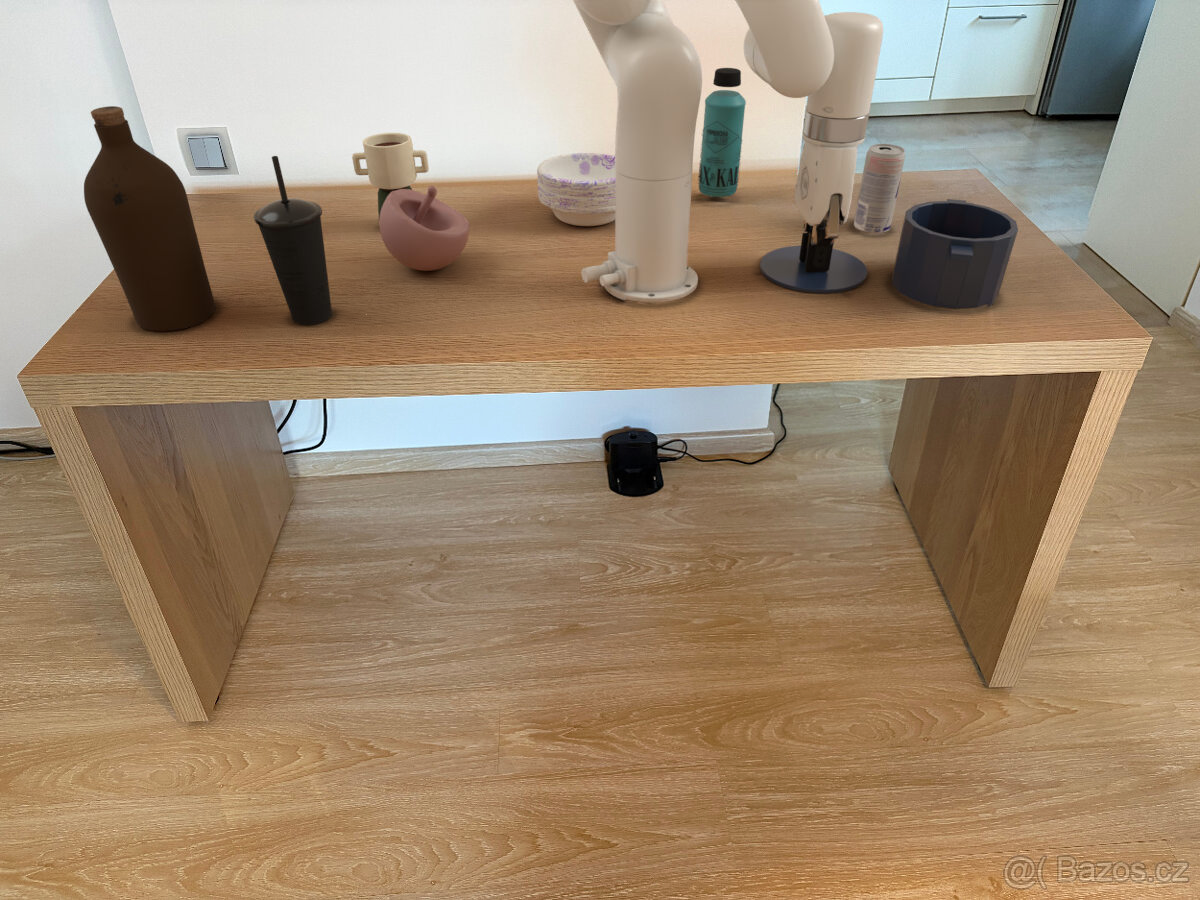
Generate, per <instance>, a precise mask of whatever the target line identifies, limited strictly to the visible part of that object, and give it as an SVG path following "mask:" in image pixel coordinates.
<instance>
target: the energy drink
mask: <svg viewBox="0 0 1200 900" xmlns="http://www.w3.org/2000/svg"><path fill="white" fill-rule="evenodd" d="M905 151H906V150H905V148H903V147H902V146H900V145H896V144H890V143H876V144H872V145H870V146H869V147H868V150H867V151H866V154H865V159H864V165H863V170H862V177H861V182H860V186H859V187H860V188H859V191H858V192H859V193H858V197H857V204H856V210H855V216H854V220H853V227H854V228H855V229H856V230H858V231H861V232H864V233H871V234H882V233H886V232H889V231H890V230H891V226H892V223H893V217H894V212H895V207H896V203H897V198H898V193H899V189H900V183H901V178H902V174H903V170H904V164H905V161H906V152H905Z"/></svg>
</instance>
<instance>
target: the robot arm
mask: <svg viewBox="0 0 1200 900" xmlns="http://www.w3.org/2000/svg"><path fill="white" fill-rule="evenodd" d="M572 1H573V3H574V5H575V7H576V9H577V11H578V13H579V15H580V17H581V19H582V22H583V23H584V24H585V27H586V29H587V31H588V33H589V35H590V37H591V39H592V41H593V43H594V45H595V47H596V48H597V51H598V52H599V56H600V57H601V58H602V60H603V63H604V64H605V67H606V69H607V71H608V73H609V74H610V76H611V78H612V80H613V82H614V84H615V86H616V93H617V94H616V95H617V103H616V104H617V105H616V106H617V107H616V108H617V109H616V120H615V123H616V124H615V141H614V143H615V146H614V148H615V149H614V156H615V220H614V229H615V231H614V251H609V252H607V260H604V261H602V263H601V264H599V265H591V266H587V267H583V268H581V270H580V271H581V272H580V273H581V279H582V281H583V283H585V284H588V283H592V282H597V281H599V284H600V285H601V287H604V289H605V290H606V291H607V292H608V293H609V294H610V295H612V296H613V297H614V298H616V299H618V300H621V301H624V302H626V301H627V300H628V301H632V302H639V303H664V302H665V303H666V302H671V301H677V300H679V299H682V298H684V297H687V296H689V295H691V294H692V293H693V292H694V291H696V289H697V287H698V284H699V276H698V274H697V272H696V270H694V269H693V268H692V267H691V266H689V265H688V255H689V241H690V240H689V238H690V236H689V235H690V222H691V206H692V205H691V203H692V188H693V187H692V185H693V164H694V149H695V148H694V147H695V137H696V128H697V120H698V115H699V109H700V103H701V98H702V88H703V69H702V64H701V58H700V56H699V53H698V51H697V48H696V47H695V45H694V43H693V42H692V41H691V39H690V38H689V37H688V36H687V34H686V33H684V31H683V30H682V29H680V27H678V26H677V25H675V24H674V22H673V20H672V18H671V15H670V13H669V11H668V9H667V6H666V4H665V2H664V0H572ZM735 2H736V4H737V6H738V8H739V10H740V11H741V13H742V15H743V17H744V20H745V21H746V23H747V25H748V29H747V31H746V34H745V36H744V40H743V56H744V59H745V62H746V63H747V65H748V67H749V68H750V70H751V71H752V72H753V73H754V74H755V75H757V77H758V78H760V80H762V81H763V82H765V83H766V84H768V86H770V87H771V88H772V89H773V90H774V91H776V92H777V93H778V94H779V95H781V96H783V97H787V98H791V99H803V98H805V97H807V99H806V107H805V115H804V122H803V128H802V135H801V136H802V139H803V140H804V142H803V147H802V151H801V155H800V161H799V166H798V172H797V178H796V184H795V187H794V188H795V189H794V195H793V200H794V204H795V206H796V208H797V209H798V212H799V213H800V215H801V216H802V218H803V219H804V220H803V227H802V229H803V232H802V235H801V242H800V246H801V248H800V255H799V260H800V261H801V262H805V258H806V262H805V270H806V272H827V271H828V270H829V267H830V261H831V255H832V249H834V244H835V241H836V239H838V238H839V236H840V235H839V233H840V226H843V225H844V224H846V223H847V221H848V218H849V214H850V209H851V204H852V198H853V192H854V184H855V176H856V168H857V160H858V159H857V158H858V157H857V156H858V146H860V145H862V144H863V143H865V140H866V134H867V127H868V123H869V122H868V121H869V117H870V111H871V106H872V98H873V94H874V89H875V88H874V87H875V82H876V76H877V71H878V65H879V59H880V53H881V47H882V42H883V36H884V25H883V22H882V20H881V19H880V18H879V17H878V16H876V15H873V14H870V13H865V12H856V11H843V12H842V11H841V12H833V13H829V14H824V11H823V9H822V5H821V3H820V0H735ZM819 229H820V232H819ZM811 230H813V231H812V239H811V242H808V237H809V232H810V231H811ZM807 244H808V249H807ZM806 251H807V255H806Z"/></svg>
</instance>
